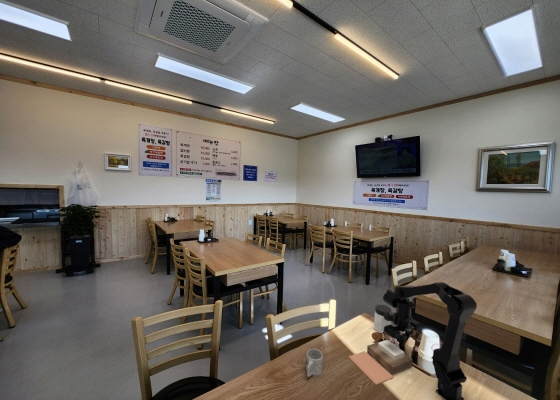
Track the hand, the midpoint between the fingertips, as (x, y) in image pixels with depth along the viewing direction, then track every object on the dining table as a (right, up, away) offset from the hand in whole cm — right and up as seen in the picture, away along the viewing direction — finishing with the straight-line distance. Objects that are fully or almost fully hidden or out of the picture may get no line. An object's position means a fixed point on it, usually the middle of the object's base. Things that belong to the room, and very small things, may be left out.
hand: (402, 345), depth 106 cm
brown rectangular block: (-8, -4, -3) cm, 9 cm away
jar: (0, -4, +20) cm, 20 cm away
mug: (-44, -4, -11) cm, 45 cm away
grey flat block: (-7, -1, -3) cm, 7 cm away
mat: (-18, -4, -8) cm, 20 cm away
